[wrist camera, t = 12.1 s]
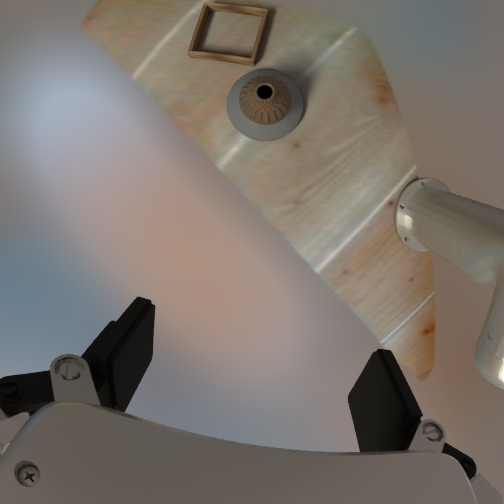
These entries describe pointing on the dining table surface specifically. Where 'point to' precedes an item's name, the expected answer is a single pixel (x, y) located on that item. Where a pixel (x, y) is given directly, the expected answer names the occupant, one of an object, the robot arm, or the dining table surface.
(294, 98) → the plate
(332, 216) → the dining table surface
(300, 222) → the dining table surface
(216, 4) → the holder
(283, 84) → the vase
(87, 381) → the robot arm
